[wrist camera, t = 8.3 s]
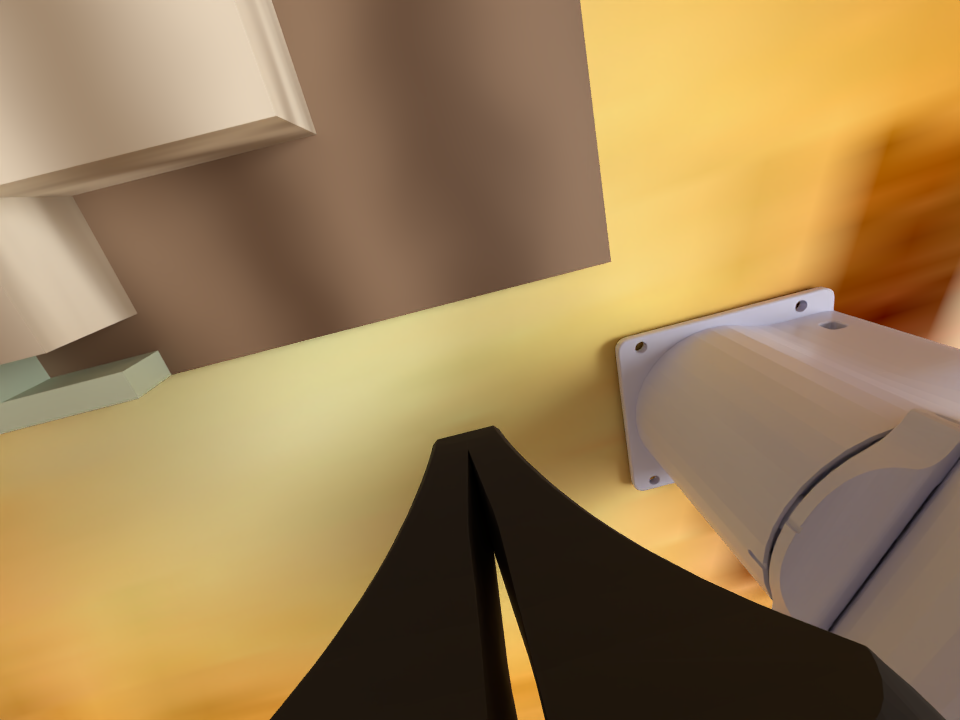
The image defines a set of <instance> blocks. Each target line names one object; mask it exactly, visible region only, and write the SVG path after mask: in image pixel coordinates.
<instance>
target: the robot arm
mask: <svg viewBox="0 0 960 720" xmlns="http://www.w3.org/2000/svg"><path fill="white" fill-rule="evenodd" d="M799 301H800V304H799V306H798V307H797V308H796V309H795V307H796V304H797V303H798V302H799ZM833 309H834V292H833V291H832V290H831V289H828V288H825V287H817V288H813V289H809V290H805V291H801V292H797V293H794V294H790V295H786V296H782V297H778V298H774V299H770V300H767V301H763V302H759V303H755V304H751V305H747V306H743V307H740V308H736V309H732V310H728V311H724V312H720V313H716V314H713V315H709V316H705V317H701V318H697V319H693V320H689V321H686V322H682V323H678V324H674V325H670V326H666V327H662V328H659V329H655V330H651V331H647V332H643V333H639V334H635V335H632V336H628V337H624V338H622V339H621V340H620V341H618V343H617V345H616V347H615V353H616V361H617V369H618V377H619V385H620V393H621V402H622V410H623V418H624V426H625V434H626V442H627V450H628V458H629V466H630V474H631V481H632V484H633V485H634V487H635V488H636V489H637V490H640V491H644V490H648V489H652V488H656V487H660V486H663V485H667V484H671V483H676V484H677V486H678V487H679V488H680V489H681V490H682V492H683V493H684V494H685V495H686V497H687V498H688V499H689V500H690V501H691V503H692V504H693V505H694V506H695V507H696V509H697V510H698V511H699V512H700V513H701V515H702V516H703V517H704V518H705V519H706V521H707V522H708V523H709V524H710V525H711V527H712V528H713V529H714V530H715V532H716V533H717V534H718V535H719V536H720V538H721V539H722V540H723V541H724V542H725V544H726V545H727V546H728V547H729V548H730V550H731V551H732V552H733V553H734V554H735V556H736V557H737V558H738V559H739V560H740V562H741V563H742V564H743V565H744V567H745V568H746V569H747V570H748V571H749V573H750V574H751V575H752V576H753V577H754V579H755V580H756V581H757V582H758V583H759V585H760V586H761V587H762V588H763V589H764V591H765V592H766V593H767V594H768V596H769V597H770V598H771V599H772V600H773V605H772V609H770V608H767V607H765V606H762V605H760V604H757V603H755V602H753V601H750V600H748V599H746V598H744V597H741V596H739V595H737V594H735V593H733V592H730V591H728V590H726V589H724V588H722V587H719V586H717V585H715V584H713V583H711V582H708V581H706V580H704V579H702V578H700V577H698V576H696V575H694V574H692V573H691V572H689V571H687V570H685V569H683V568H681V567H679V566H677V565H675V564H673V563H671V562H670V561H668V560H666V559H664V558H662V557H660V556H658V555H656V554H654V553H652V552H650V551H649V550H647V549H645V548H643V547H642V546H640V545H638V544H637V543H635V542H633V541H632V540H630V539H629V538H627V537H625V536H624V535H622V534H620V533H619V532H617V531H615V530H614V529H612V528H611V527H609V526H608V525H606V524H605V523H603V522H602V521H600V520H599V519H597V518H596V517H594V516H593V515H592V514H590V513H589V512H587V511H586V510H585V509H583V508H582V507H580V506H579V505H578V504H576V503H575V502H574V501H573V500H571V499H570V498H569V497H567V496H566V495H565V494H564V493H562V492H561V491H560V490H559V489H557V488H556V487H555V486H554V485H553V484H552V483H550V482H549V481H548V480H547V479H546V478H545V477H544V476H542V475H541V474H540V473H539V472H538V471H537V470H536V469H535V468H534V467H533V466H532V465H530V464H529V463H528V462H527V461H526V460H525V459H524V458H523V457H522V456H521V455H520V454H519V453H518V452H517V450H516V449H515V448H514V447H513V446H512V445H511V444H510V443H509V442H508V440H507V439H506V438H505V437H504V435H503V434H502V433H501V431H500V430H499V429H498V428H496V427H495V426H490V427H486V428H482V429H478V430H474V431H470V432H466V433H462V434H458V435H454V436H450V437H446V438H442V439H438V440H437V441H436V442H435V444H434V445H433V448H432V452H431V455H430V459H429V462H428V465H427V468H426V471H425V473H424V476H423V479H422V482H421V484H420V487H419V489H418V491H417V494H416V496H415V499H414V501H413V503H412V506H411V508H410V510H409V512H408V515H407V517H406V519H405V521H404V523H403V525H402V527H401V529H400V531H399V533H398V535H397V537H396V539H395V541H394V543H393V545H392V547H391V549H390V550H389V552H388V554H387V556H386V558H385V559H384V561H383V563H382V565H381V567H380V568H379V570H378V572H377V573H376V575H375V577H374V578H373V580H372V582H371V583H370V585H369V586H368V588H367V590H366V591H365V593H364V595H363V596H362V598H361V599H360V601H359V602H358V604H357V605H356V607H355V608H354V610H353V611H352V612H351V614H350V615H349V617H348V618H347V620H346V621H345V623H344V624H343V626H342V627H341V629H340V630H339V632H338V633H337V634H336V636H335V637H334V639H333V640H332V641H331V643H330V644H329V646H328V647H327V648H326V650H325V651H324V652H323V654H322V655H321V656H320V658H319V659H318V660H317V662H316V663H315V664H314V666H313V667H312V668H311V669H310V671H309V672H308V673H307V674H306V676H305V677H304V678H303V679H302V681H301V682H300V683H299V684H298V686H297V687H296V688H295V689H294V691H293V692H292V693H291V694H290V696H289V697H288V698H287V699H286V701H285V702H284V703H283V704H282V706H281V707H280V708H279V709H278V710H277V712H276V713H275V714H274V715H273V716H272V718H271V719H270V720H518V719H517V714H516V709H515V704H514V699H513V694H512V689H511V683H510V676H509V670H508V664H507V656H506V647H505V639H504V631H503V623H502V614H501V606H500V598H499V590H498V581H497V573H496V565H495V557H494V553H495V556H496V559H497V562H498V566H499V569H500V572H501V575H502V578H503V581H504V584H505V587H506V590H507V593H508V596H509V599H510V602H511V605H512V608H513V611H514V614H515V617H516V620H517V623H518V626H519V629H520V632H521V635H522V638H523V641H524V644H525V647H526V650H527V653H528V656H529V660H530V663H531V667H532V670H533V674H534V677H535V681H536V684H537V688H538V692H539V696H540V700H541V705H542V709H543V713H544V717H545V720H960V349H957V348H954V347H951V346H947V345H944V344H941V343H938V342H934V341H931V340H928V339H925V338H921V337H918V336H915V335H912V334H908V333H905V332H902V331H898V330H895V329H892V328H889V327H885V326H882V325H879V324H876V323H872V322H869V321H866V320H863V319H859V318H856V317H853V316H850V315H846V314H843V313H840V312H836V311H833ZM640 342H643V346H642V348H641V349H639V350H635V347H636V345H637V344H638V343H640ZM652 476H655V477H654V478H653V479H651V480H650V478H651V477H652Z"/></svg>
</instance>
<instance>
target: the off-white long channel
mask: <svg viewBox="0 0 960 720" xmlns="http://www.w3.org/2000/svg"><path fill="white" fill-rule="evenodd" d="M170 375H171V373H170V371H169V370H168V368H167V366H166V364H165V362H164V360H163V359H162V357H161V355H160V353H159V351H154V352H150V353H146V354H142V355H138V356H135V357H131V358H127V359H123V360H119V361H115V362H111V363H107V364H103V365H99V366H96V367H92V368H88V369H84V370H80V371H76V372H72V373H68V374H64V375H60V376H57V377H53V378H50V376H49V375H48V373H47V372H46V371H45V369H44V368H43V366H42V365H41V363H40V362H39V360H38V359H37V357H36V356H33V357H29V358H25V359H21V360H17V361H13V362H9V363H5V364H1V365H0V434H3V433H7V432H11V431H15V430H18V429H22V428H26V427H30V426H34V425H38V424H42V423H46V422H49V421H53V420H57V419H61V418H65V417H69V416H73V415H77V414H81V413H84V412H88V411H92V410H96V409H100V408H104V407H108V406H112V405H115V404H119V403H123V402H127V401H131V400H135V399H139V398H140V397H141V396H143V395H144V394H146V393H147V392H148V391H150V390H151V389H152V388H154V387H155V386H157V385H158V384H159V383H161V382H162V381H164V380H165V379H166V378H168V377H169V376H170Z"/></svg>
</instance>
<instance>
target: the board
mask: <svg viewBox="0 0 960 720" xmlns="http://www.w3.org/2000/svg"><path fill="white" fill-rule="evenodd" d="M272 3H273V6H274V9H275V12H276V15H277V18H278V21H279V24H280V27H281V30H282V33H283V36H284V39H285V42H286V45H287V48H288V51H289V54H290V57H291V60H292V63H293V66H294V69H295V72H296V75H297V78H298V81H299V83H300V86H301V89H302V92H303V95H304V98H305V101H306V104H307V107H308V110H309V113H310V116H311V119H312V122H313V125H314V128H315V131H316V135H312V136H308V137H304V138H300V139H296V140H292V141H288V142H284V143H280V144H277V145H273V146H269V147H265V148H261V149H257V150H253V151H249V152H245V153H241V154H237V155H233V156H229V157H225V158H221V159H217V160H213V161H209V162H205V163H201V164H197V165H193V166H189V167H185V168H181V169H177V170H173V171H169V172H165V173H161V174H157V175H153V176H149V177H145V178H141V179H137V180H133V181H129V182H125V183H121V184H117V185H113V186H109V187H105V188H101V189H97V190H93V191H89V192H85V193H81V194H77V195H73V198H74V200H75V202H76V204H77V205H78V207H79V209H80V211H81V213H82V214H83V216H84V218H85V220H86V222H87V223H88V225H89V227H90V229H91V231H92V232H93V234H94V236H95V238H96V240H97V241H98V243H99V245H100V247H101V249H102V250H103V252H104V254H105V256H106V258H107V259H108V261H109V263H110V265H111V267H112V268H113V270H114V272H115V274H116V276H117V278H118V279H119V281H120V283H121V285H122V287H123V288H124V290H125V292H126V294H127V296H128V297H129V299H130V301H131V303H132V305H133V306H134V308H135V310H136V312H137V314H135V315H133V316H131V317H128V318H126V319H124V320H122V321H119V322H117V323H115V324H112V325H110V326H108V327H105V328H103V329H101V330H98V331H96V332H94V333H92V334H89V335H87V336H85V337H82V338H80V339H78V340H75V341H73V342H71V343H68V344H66V345H64V346H61V347H59V348H57V349H55V350H52V351H50V352H48V353H45V354H41V355H37V356H36V357H37V359H38V360H39V362H40V363H41V365H42V366H43V368H44V369H45V371H46V372H47V373H48V375H49V376H50V378H53V377H57V376H60V375H64V374H68V373H72V372H76V371H80V370H84V369H88V368H92V367H96V366H99V365H103V364H107V363H111V362H115V361H119V360H123V359H127V358H131V357H135V356H138V355H142V354H146V353H150V352H154V351H159V353H160V355H161V357H162V359H163V360H164V362H165V364H166V366H167V368H168V370H169V371H170V373H171V375H172V374H176V373H180V372H184V371H188V370H192V369H196V368H200V367H204V366H207V365H211V364H215V363H219V362H223V361H227V360H231V359H235V358H238V357H242V356H246V355H250V354H254V353H258V352H262V351H266V350H270V349H273V348H277V347H281V346H285V345H289V344H293V343H297V342H301V341H305V340H308V339H312V338H316V337H320V336H324V335H328V334H332V333H336V332H340V331H343V330H347V329H351V328H355V327H359V326H363V325H367V324H371V323H375V322H378V321H382V320H386V319H390V318H394V317H398V316H402V315H406V314H409V313H413V312H417V311H421V310H425V309H429V308H433V307H437V306H441V305H444V304H448V303H452V302H456V301H460V300H464V299H468V298H472V297H476V296H479V295H483V294H487V293H491V292H495V291H499V290H503V289H507V288H511V287H514V286H518V285H522V284H526V283H530V282H534V281H538V280H542V279H545V278H549V277H553V276H557V275H561V274H565V273H569V272H573V271H577V270H580V269H584V268H588V267H592V266H596V265H600V264H604V263H608V262H611V258H610V250H609V241H608V233H607V224H606V216H605V208H604V199H603V191H602V182H601V174H600V165H599V157H598V149H597V140H596V132H595V123H594V115H593V107H592V98H591V90H590V81H589V73H588V64H587V56H586V48H585V39H584V31H583V22H582V14H581V5H580V0H272Z"/></svg>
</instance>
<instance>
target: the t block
mask: <svg viewBox="0 0 960 720" xmlns="http://www.w3.org/2000/svg"><path fill="white" fill-rule="evenodd" d="M312 135H316V131H315V128H314V125H313V122H312V119H311V116H310V113H309V110H308V107H307V104H306V101H305V98H304V95H303V92H302V89H301V86H300V83H299V81H298V78H297V75H296V72H295V69H294V66H293V63H292V60H291V57H290V54H289V51H288V48H287V45H286V42H285V39H284V36H283V33H282V30H281V27H280V24H279V21H278V18H277V15H276V12H275V9H274V6H273V3H272V0H0V365H1V364H5V363H9V362H13V361H17V360H21V359H25V358H29V357H33V356H37V355H41V354H45V353H48V352H50V351H52V350H55V349H57V348H59V347H61V346H64V345H66V344H68V343H71V342H73V341H75V340H78V339H80V338H82V337H85V336H87V335H89V334H92V333H94V332H96V331H98V330H101V329H103V328H105V327H108V326H110V325H112V324H115V323H117V322H119V321H122V320H124V319H126V318H128V317H131V316H133V315H135V314H137V312H136V310H135V308H134V306H133V305H132V303H131V301H130V299H129V297H128V296H127V294H126V292H125V290H124V288H123V287H122V285H121V283H120V281H119V279H118V278H117V276H116V274H115V272H114V270H113V268H112V267H111V265H110V263H109V261H108V259H107V258H106V256H105V254H104V252H103V250H102V249H101V247H100V245H99V243H98V241H97V240H96V238H95V236H94V234H93V232H92V231H91V229H90V227H89V225H88V223H87V222H86V220H85V218H84V216H83V214H82V213H81V211H80V209H79V207H78V205H77V204H76V202H75V200H74V198H73V195H77V194H81V193H85V192H89V191H93V190H97V189H101V188H105V187H109V186H113V185H117V184H121V183H125V182H129V181H133V180H137V179H141V178H145V177H149V176H153V175H157V174H161V173H165V172H169V171H173V170H177V169H181V168H185V167H189V166H193V165H197V164H201V163H205V162H209V161H213V160H217V159H221V158H225V157H229V156H233V155H237V154H241V153H245V152H249V151H253V150H257V149H261V148H265V147H269V146H273V145H277V144H280V143H284V142H288V141H292V140H296V139H300V138H304V137H308V136H312Z"/></svg>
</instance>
